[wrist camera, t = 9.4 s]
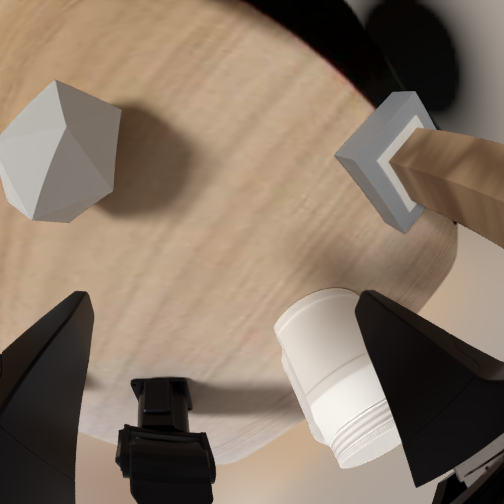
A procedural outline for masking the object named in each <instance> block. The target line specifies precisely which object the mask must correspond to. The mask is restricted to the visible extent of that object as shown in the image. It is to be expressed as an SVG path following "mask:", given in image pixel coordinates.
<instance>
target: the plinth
mask: <svg viewBox="0 0 504 504" xmlns="http://www.w3.org/2000/svg"><path fill="white" fill-rule="evenodd" d="M417 127H418V128H426V129H433V130H436V128H435V126H434V124H433V122H432V121H431V119H430V117H429V115H428V113H427V111H426V109H425V108H424V106H423V104H422V102H421V101H420V99H419V97H418V96H417V94H416V92H415V91H410V92H392V93H391V94H390V95H389V97H388V98H387V99H386V100H385V101H384V102H383V103H382V104H381V105H380V106H379V107H378V108H377V109H376V110H375V112H374V113H373V114H372V115H371V116H370V117H369V118H368V119H367V120H366V121H365V122H364V123H363V124H362V125H361V127H360V128H359V129H358V130H357V131H356V132H355V133H354V134H353V135H352V136H351V137H350V138H349V139H348V140H347V142H346V143H345V144H344V145H343V146H342V147H341V148H340V149H339V150H338V151H337V152H336V153H335V154H334V156H335V157H336V158H337V160H338V161H339V162H340V163H341V164H342V166H343V167H344V168H345V169H346V170H347V172H348V173H349V174H350V175H351V177H352V178H353V179H354V181H355V182H356V183H357V184H358V186H359V187H360V188H361V190H362V191H363V192H364V194H365V195H366V196H367V198H368V199H369V200H370V202H371V203H372V204H373V206H374V207H375V208H376V210H377V211H378V213H379V214H380V216H381V217H382V218H383V220H384V221H385V223H387V224H388V225H390V226H392V227H394V228H395V229H397V230H399V231H400V232H402V233H404V234H405V233H406V232H407V231H408V230H409V228H410V227H411V226H412V225H413V223H414V222H415V221H416V220H417V218H418V217H419V216H420V215H421V213H422V212H423V211H424V209H425V208H426V207H424V206H422V205H420V204H418V203H416V202H413V201H411V199H410V197H409V196H408V194H407V192H406V190H405V189H404V187H403V185H402V183H401V182H400V180H399V178H398V177H397V175H396V174H395V172H394V170H393V169H392V167H391V166H390V164H389V160H390V159H391V158H392V157H393V156H394V154H395V153H396V152H397V151H398V150H399V149H400V147H401V146H402V145H403V144H404V143H405V141H406V140H407V139H408V138H409V136H410V135H411V134H412V133H413V132H414V130H415V129H416V128H417Z"/></svg>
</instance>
